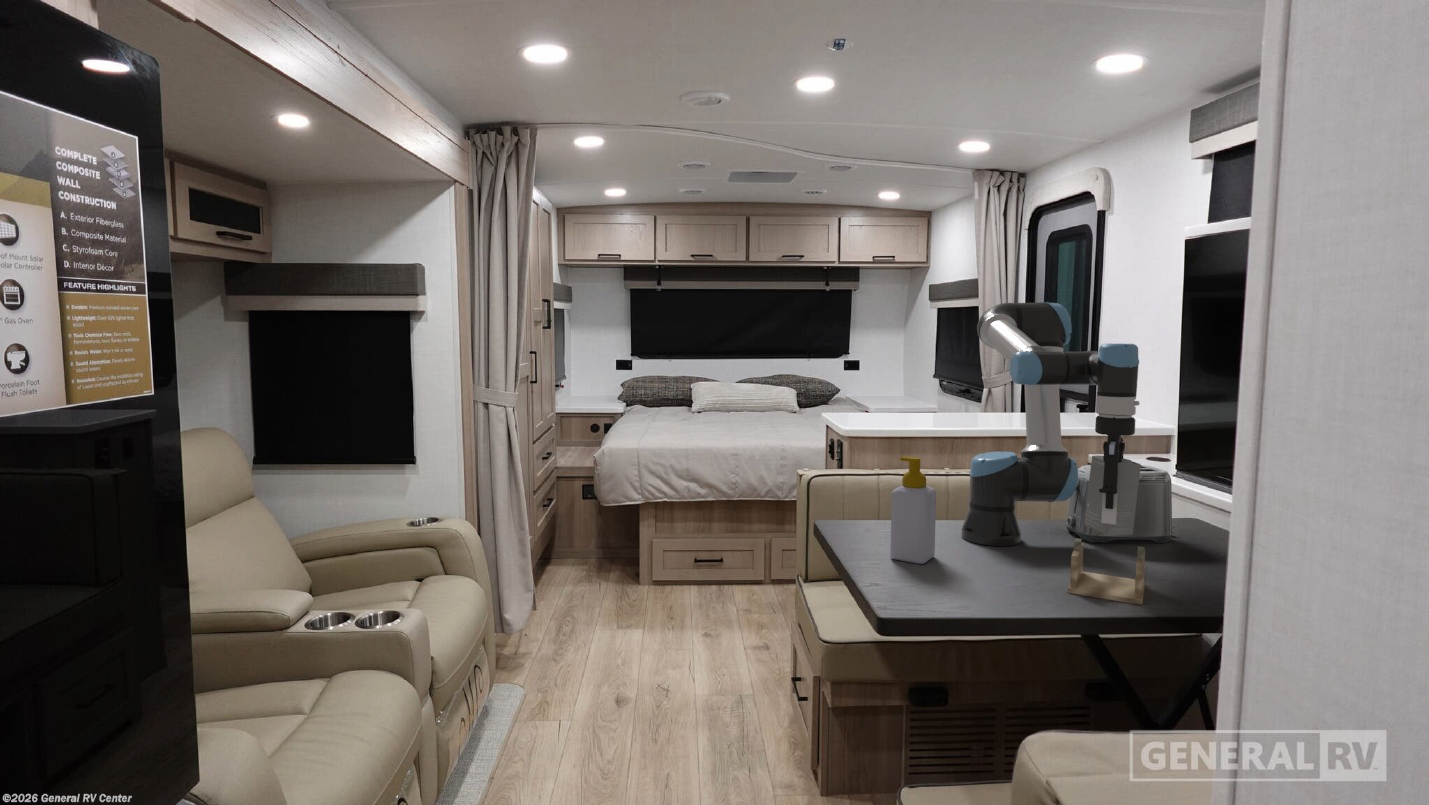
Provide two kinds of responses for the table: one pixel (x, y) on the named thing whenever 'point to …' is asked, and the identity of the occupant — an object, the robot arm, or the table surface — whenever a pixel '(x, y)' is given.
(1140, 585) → the holder
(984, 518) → the robot arm
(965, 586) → the table surface
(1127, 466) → the skincare box
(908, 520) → the soap bottle
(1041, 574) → the table surface
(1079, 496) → the toaster
